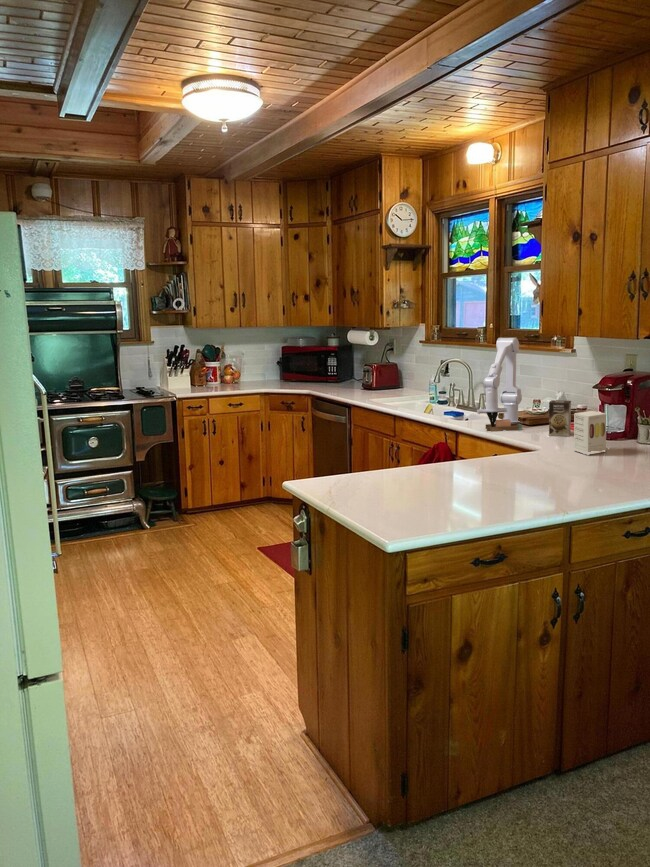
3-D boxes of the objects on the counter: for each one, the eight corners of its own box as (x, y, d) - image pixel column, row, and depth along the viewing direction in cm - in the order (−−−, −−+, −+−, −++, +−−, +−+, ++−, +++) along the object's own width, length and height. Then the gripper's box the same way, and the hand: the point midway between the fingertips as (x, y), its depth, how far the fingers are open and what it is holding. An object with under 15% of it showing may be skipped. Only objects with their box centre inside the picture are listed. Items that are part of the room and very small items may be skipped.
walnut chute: (485, 428, 355) (485, 423, 354) (519, 426, 352) (519, 421, 352) (487, 431, 347) (486, 426, 347) (521, 430, 345) (521, 424, 344)
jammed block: (495, 428, 352) (495, 419, 351) (509, 427, 351) (509, 419, 350) (496, 430, 348) (496, 421, 347) (510, 429, 347) (510, 420, 346)
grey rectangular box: (548, 436, 328) (548, 402, 325) (551, 433, 334) (550, 399, 330) (569, 436, 324) (568, 402, 320) (571, 433, 329) (571, 400, 326)
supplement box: (587, 456, 289) (587, 416, 286) (573, 451, 298) (573, 413, 294) (606, 452, 292) (607, 413, 289) (591, 448, 301) (591, 410, 297)
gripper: (477, 402, 345) (478, 429, 348) (507, 401, 342) (508, 428, 345) (476, 400, 351) (477, 426, 354) (506, 398, 349) (506, 425, 352)
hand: (492, 427), depth 350 cm, fingers closed
